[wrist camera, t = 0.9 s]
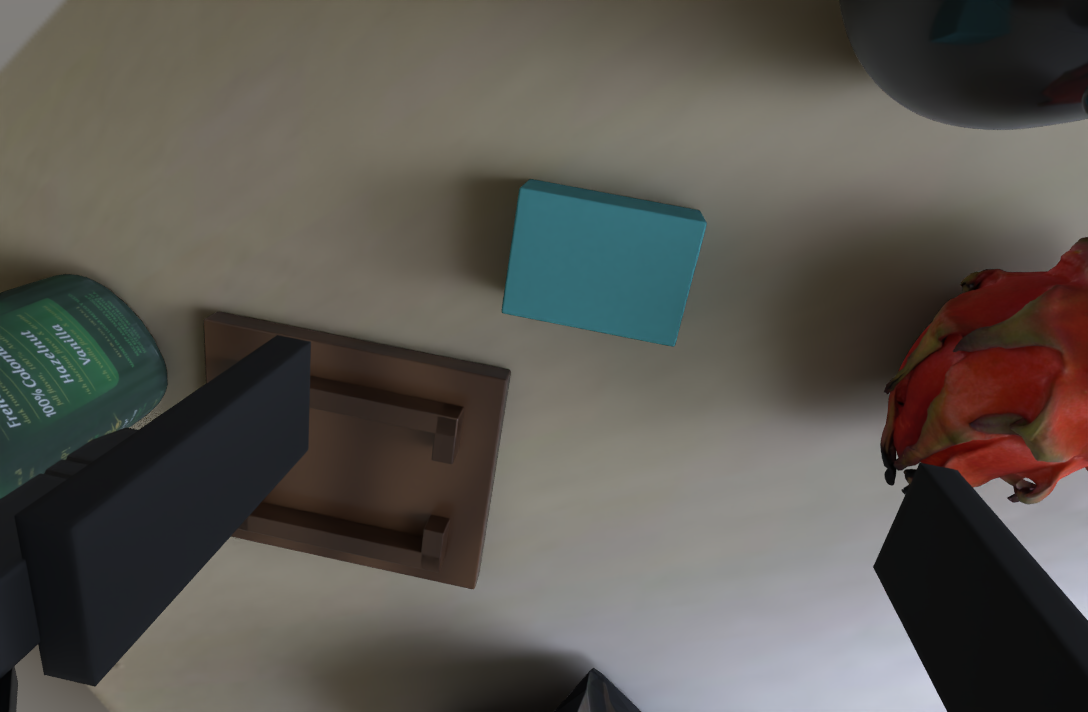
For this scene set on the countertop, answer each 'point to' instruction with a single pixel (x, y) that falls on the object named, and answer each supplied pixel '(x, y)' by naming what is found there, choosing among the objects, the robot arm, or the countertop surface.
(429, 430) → the back plate
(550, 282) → the pad
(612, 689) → the rectangular planter
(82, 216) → the countertop surface
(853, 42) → the black rounded piece
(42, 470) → the coffee jar
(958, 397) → the dragon fruit
